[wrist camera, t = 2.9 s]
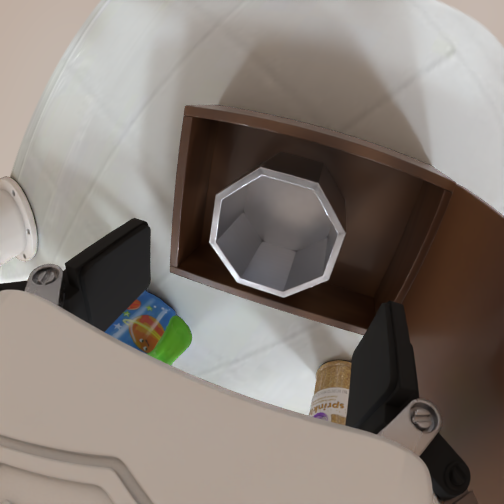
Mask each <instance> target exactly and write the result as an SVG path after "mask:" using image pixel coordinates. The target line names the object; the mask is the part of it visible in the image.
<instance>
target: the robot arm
mask: <svg viewBox="0 0 504 504" xmlns="http://www.w3.org/2000/svg"><path fill="white" fill-rule="evenodd" d="M150 234H151V230H150V227H149V226H148V224H147V222H145V221H142V220H139V219H136V218H133V219H131V220H130V221H128V222H126V223H125V224H123V225H122V226H120V227H118V228H117V229H115V230H114V231H112V232H111V233H109V234H108V235H106V236H105V237H103V238H101V239H100V240H98V241H97V242H95V243H94V244H92V245H91V246H89V247H88V248H87V249H85V250H84V251H82V252H81V253H79V254H78V255H76V256H75V257H73V258H72V259H71V260H69V261H68V262H66V263H65V266H66V270H64V271H62V269H61V268H60V267H59V266H58V265H54V264H46V265H42V266H39V267H37V268H36V269H34V270H33V271H32V272H31V273H30V275H29V278H28V281H21V282H12V283H3V284H0V504H478V502H477V499H476V497H475V495H474V492H473V490H471V491H468V486H469V484H470V480H471V475H470V470H469V468H468V466H467V464H466V463H465V462H464V461H463V460H462V458H461V457H460V456H459V455H458V454H457V453H456V452H455V451H454V449H453V448H452V447H451V446H450V445H449V444H448V443H447V441H446V440H445V439H444V438H443V437H442V436H441V435H440V434H439V430H440V428H441V425H442V418H441V414H440V412H439V410H438V408H437V407H436V406H435V405H434V404H433V403H432V402H430V401H428V400H426V399H421V398H419V389H418V380H417V372H416V364H415V357H414V350H413V346H412V344H411V343H410V338H409V332H408V326H407V321H406V315H405V310H404V306H403V305H402V304H400V303H396V302H393V301H388V302H387V303H382V304H381V306H380V308H379V310H378V312H377V313H376V315H375V317H374V319H373V321H372V322H371V324H370V326H369V328H368V329H367V331H366V333H365V334H364V336H363V338H362V339H361V341H360V343H359V344H358V346H357V348H356V349H355V351H354V353H353V356H352V361H351V375H350V386H349V397H348V406H347V415H346V423H345V425H341V424H337V423H333V422H329V421H326V420H322V419H318V418H315V417H311V416H308V415H304V414H301V413H297V412H294V411H291V410H287V409H284V408H281V407H277V406H274V405H271V404H268V403H265V402H262V401H259V400H256V399H253V398H250V397H247V396H245V395H242V394H239V393H236V392H234V391H231V390H228V389H226V388H223V387H221V386H218V385H215V384H213V383H210V382H208V381H205V380H203V379H200V378H198V377H196V376H193V375H191V374H189V373H186V372H184V371H182V370H179V369H177V368H175V367H173V366H171V365H168V364H166V363H164V362H162V361H160V360H158V359H155V358H153V357H151V356H149V355H147V354H145V353H143V352H141V351H139V350H137V349H135V348H133V347H131V346H129V345H127V344H125V343H123V342H121V341H120V340H118V339H116V338H114V337H112V336H110V335H108V334H107V333H105V331H106V330H107V329H108V328H109V327H110V326H111V325H112V324H113V323H114V322H115V321H116V320H117V318H118V317H119V316H120V315H121V314H122V313H123V312H124V311H125V310H126V309H127V308H128V307H129V306H130V305H131V304H132V303H133V302H134V301H135V300H136V299H137V298H138V297H139V296H140V295H141V294H142V293H143V292H144V291H145V290H146V289H147V288H148V286H149V284H150V280H151V279H150ZM37 243H38V242H37V230H36V225H35V220H34V217H33V214H32V210H31V208H30V205H29V202H28V200H27V198H26V196H25V194H24V192H23V191H22V189H21V188H20V186H19V185H18V184H17V183H16V182H15V181H14V180H13V179H12V178H10V177H3V178H0V267H1V266H2V265H3V264H5V263H6V262H8V261H9V260H11V259H12V258H14V257H16V258H17V259H19V260H21V261H24V262H26V261H29V260H30V259H31V258H33V257H34V255H35V254H36V251H37Z"/></svg>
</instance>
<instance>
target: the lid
mask: <svg viewBox="0 0 504 504" xmlns="http://www.w3.org/2000/svg"><path fill="white" fill-rule="evenodd" d="M401 304H402V305H403V306H404V310H405V315H406V321H407V326H408V332H409V338H410V343H411V344H412V346H413V350H414V357H415V364H416V372H417V380H418V389H419V398H421V399H426V400H428V401H430V402H432V403H433V404H434V405H435V406H436V407H437V408H438V410H439V412H440V414H441V418H442V425H441V428H440V430H439V434H440V435H441V436H442V437H443V438H444V439H445V440H446V441H447V443H448V444H449V445H450V446H451V447H452V448H453V449H454V451H455V452H456V453H457V454H458V455H459V456H460V457H461V458H462V460H463V461H464V462H465V463H466V464H467V466H468V468H469V470H470V475H471V480H470V484H469V486H468V491H471V490H473V492H474V495H475V497H476V499H477V502H478V504H504V215H502V214H501V213H500V212H498V211H497V210H496V209H494V208H493V207H492V206H490V205H489V204H488V203H486V202H485V201H483V200H482V199H481V198H479V197H478V196H476V195H475V194H473V193H472V192H470V191H469V190H468V189H466V188H465V187H463V186H461V185H459V184H456V185H455V188H454V190H453V193H452V196H451V199H450V201H449V204H448V206H447V209H446V211H445V214H444V216H443V219H442V221H441V224H440V226H439V228H438V231H437V233H436V235H435V238H434V240H433V242H432V244H431V246H430V249H429V251H428V253H427V255H426V257H425V259H424V261H423V263H422V265H421V267H420V269H419V271H418V273H417V275H416V277H415V279H414V281H413V283H412V285H411V287H410V289H409V290H408V292H407V294H406V296H405V298H404V300H403V301H402V303H401Z"/></svg>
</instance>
